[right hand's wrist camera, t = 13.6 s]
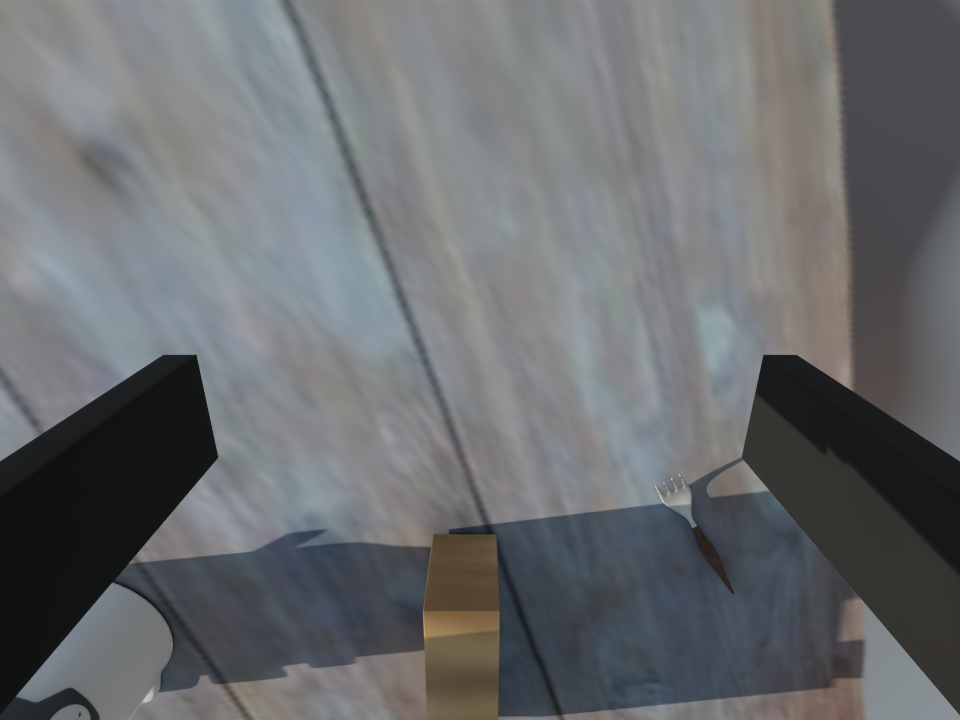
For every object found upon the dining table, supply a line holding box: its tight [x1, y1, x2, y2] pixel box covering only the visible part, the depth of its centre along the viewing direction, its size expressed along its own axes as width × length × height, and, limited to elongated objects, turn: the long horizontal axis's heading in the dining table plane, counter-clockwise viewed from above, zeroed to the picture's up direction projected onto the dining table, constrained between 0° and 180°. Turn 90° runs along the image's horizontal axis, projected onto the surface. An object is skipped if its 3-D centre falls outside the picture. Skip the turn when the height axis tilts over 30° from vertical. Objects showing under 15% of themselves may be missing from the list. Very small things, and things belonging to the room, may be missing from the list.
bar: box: [423, 534, 500, 720], centre depth 48 cm, size 26×6×9 cm, turn 0°
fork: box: [655, 474, 734, 594], centre depth 47 cm, size 3×16×2 cm, turn 32°
